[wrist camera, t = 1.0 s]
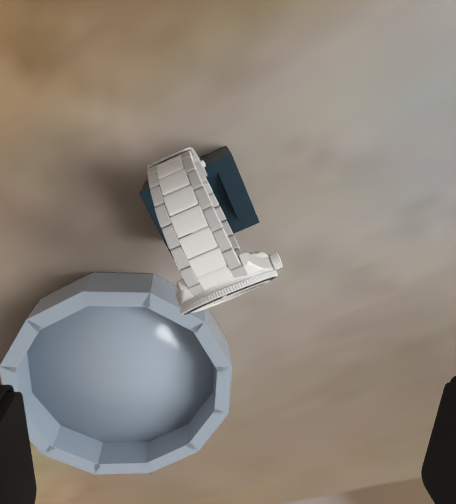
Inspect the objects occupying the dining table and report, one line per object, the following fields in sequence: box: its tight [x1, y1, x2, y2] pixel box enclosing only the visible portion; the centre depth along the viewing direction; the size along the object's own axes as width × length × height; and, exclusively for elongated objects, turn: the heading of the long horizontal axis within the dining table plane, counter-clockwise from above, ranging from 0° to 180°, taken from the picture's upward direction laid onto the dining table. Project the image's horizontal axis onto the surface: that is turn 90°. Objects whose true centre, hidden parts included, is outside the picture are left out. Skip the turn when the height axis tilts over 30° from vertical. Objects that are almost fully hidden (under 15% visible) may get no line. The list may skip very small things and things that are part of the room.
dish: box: [0, 272, 232, 474], centre depth 30 cm, size 15×15×3 cm
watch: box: [140, 146, 283, 315], centre depth 22 cm, size 6×8×11 cm
